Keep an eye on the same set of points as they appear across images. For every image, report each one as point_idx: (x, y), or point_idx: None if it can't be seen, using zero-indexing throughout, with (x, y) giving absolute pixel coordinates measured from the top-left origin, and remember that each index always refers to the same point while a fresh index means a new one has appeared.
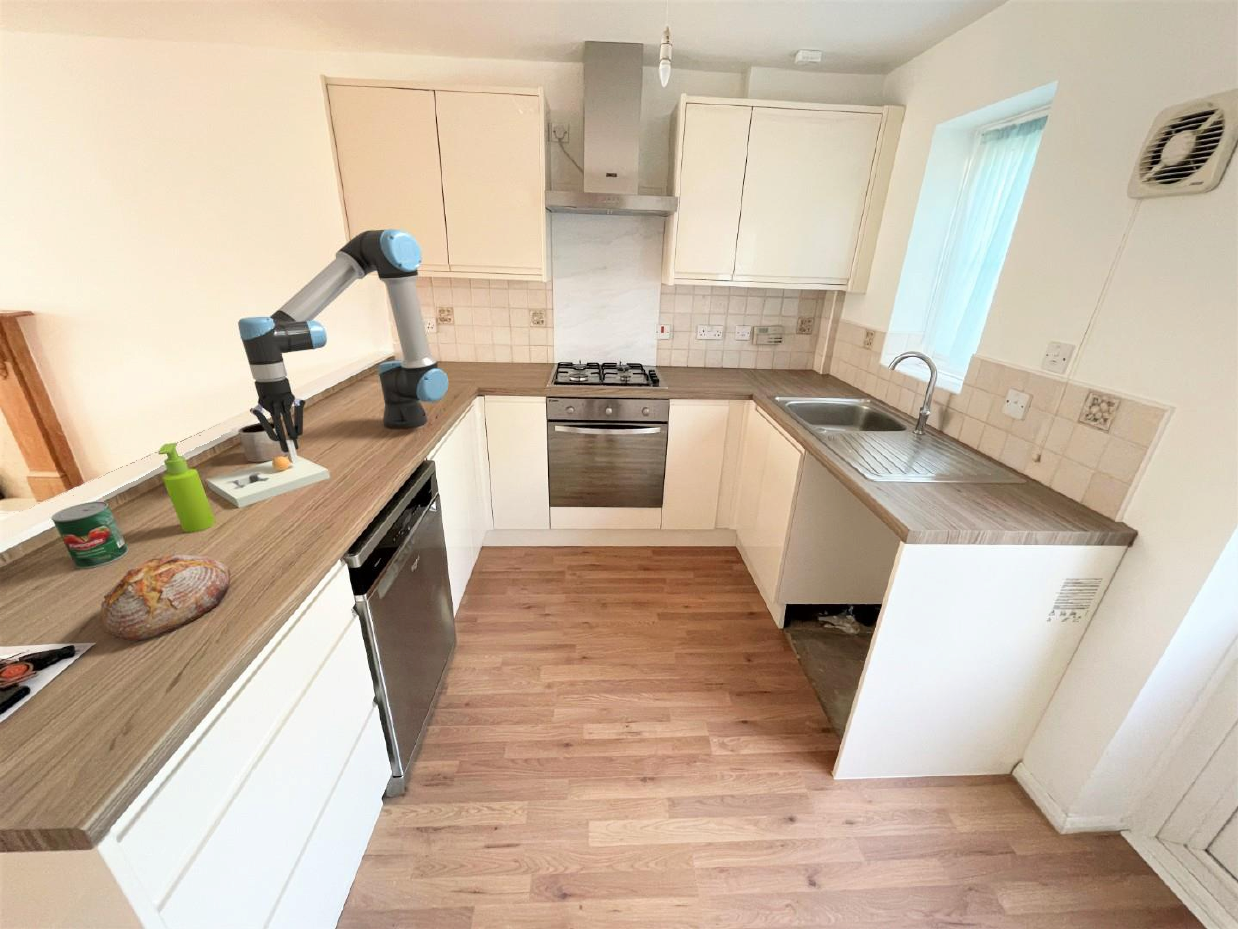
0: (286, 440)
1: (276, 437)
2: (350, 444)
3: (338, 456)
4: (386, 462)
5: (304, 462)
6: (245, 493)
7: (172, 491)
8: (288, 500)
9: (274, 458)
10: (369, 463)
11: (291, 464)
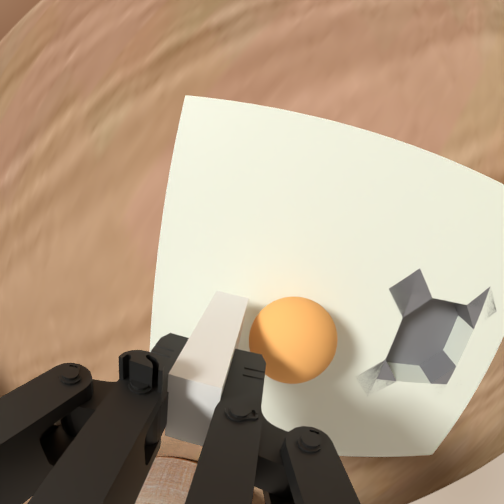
0: (207, 412)
1: (302, 455)
2: (5, 342)
3: (52, 297)
4: (25, 74)
5: (176, 309)
6: None
7: None
8: (433, 78)
9: (192, 463)
10: (42, 115)
11: None
